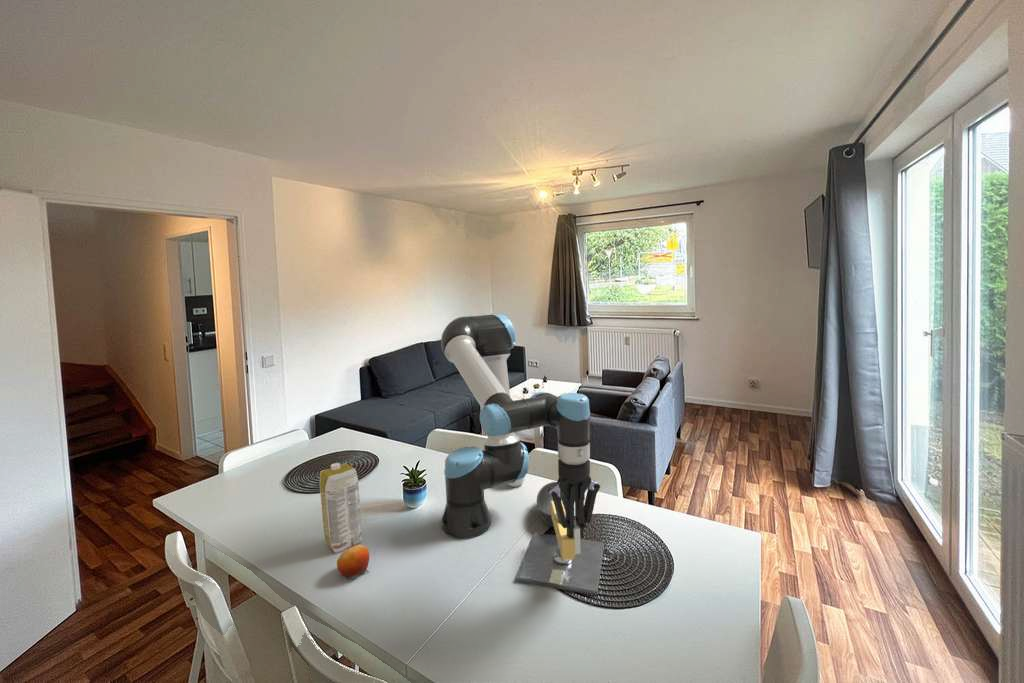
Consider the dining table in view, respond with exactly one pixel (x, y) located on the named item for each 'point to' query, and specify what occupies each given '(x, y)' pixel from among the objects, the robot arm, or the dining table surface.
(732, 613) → the dining table surface
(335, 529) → the juice carton
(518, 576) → the base
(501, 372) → the robot arm
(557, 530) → the bar
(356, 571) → the fruit
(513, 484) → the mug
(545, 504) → the bowl
